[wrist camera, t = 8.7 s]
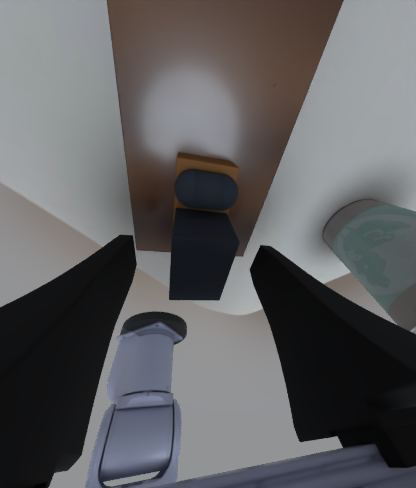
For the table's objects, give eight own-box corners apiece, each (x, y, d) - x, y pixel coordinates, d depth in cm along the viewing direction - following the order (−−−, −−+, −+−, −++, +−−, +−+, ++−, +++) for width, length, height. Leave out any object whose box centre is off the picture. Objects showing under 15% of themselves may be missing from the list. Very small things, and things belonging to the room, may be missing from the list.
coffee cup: (375, 165, 14) (813, 262, 4) (406, 213, 17) (680, 325, 8) (294, 236, 17) (423, 372, 8) (333, 263, 21) (454, 380, 11)
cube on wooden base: (211, 251, 14) (220, 301, 10) (172, 249, 13) (167, 301, 9) (232, 161, 9) (263, 186, 6) (177, 151, 9) (171, 172, 5)
